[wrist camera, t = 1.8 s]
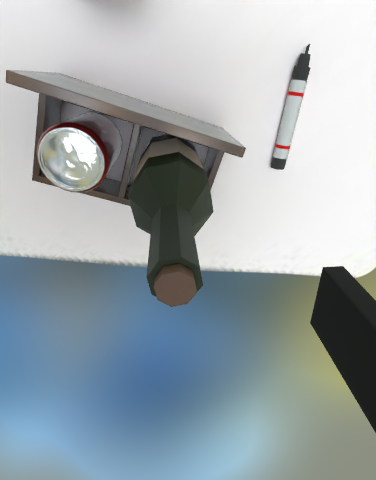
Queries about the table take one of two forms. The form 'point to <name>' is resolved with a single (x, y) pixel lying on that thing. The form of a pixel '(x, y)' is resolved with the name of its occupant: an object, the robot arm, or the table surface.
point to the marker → (291, 111)
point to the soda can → (79, 151)
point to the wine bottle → (171, 215)
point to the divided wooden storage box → (126, 108)
